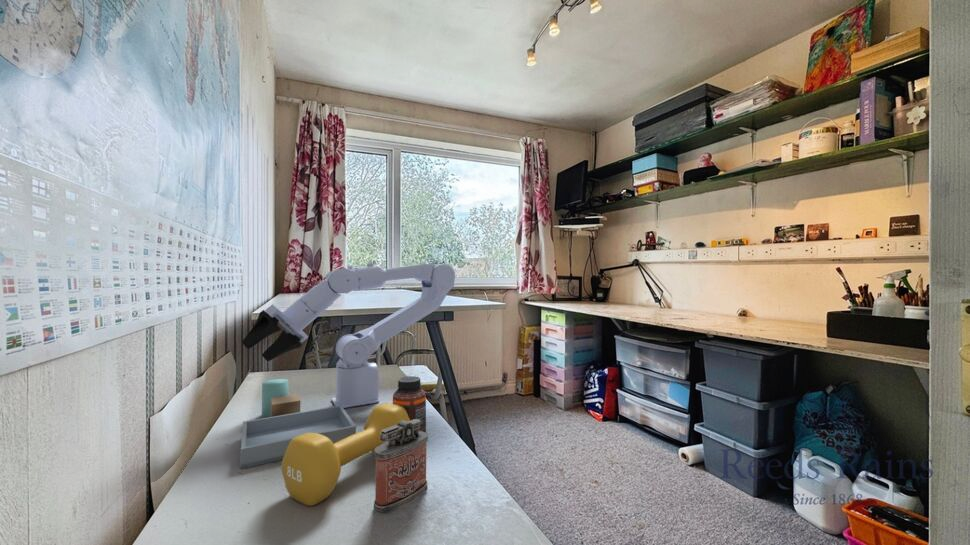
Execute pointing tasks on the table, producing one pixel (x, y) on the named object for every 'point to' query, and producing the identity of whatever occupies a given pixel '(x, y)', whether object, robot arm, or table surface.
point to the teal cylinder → (272, 393)
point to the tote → (290, 433)
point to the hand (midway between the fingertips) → (255, 352)
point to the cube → (285, 405)
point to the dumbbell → (332, 455)
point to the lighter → (400, 466)
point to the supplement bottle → (412, 399)
